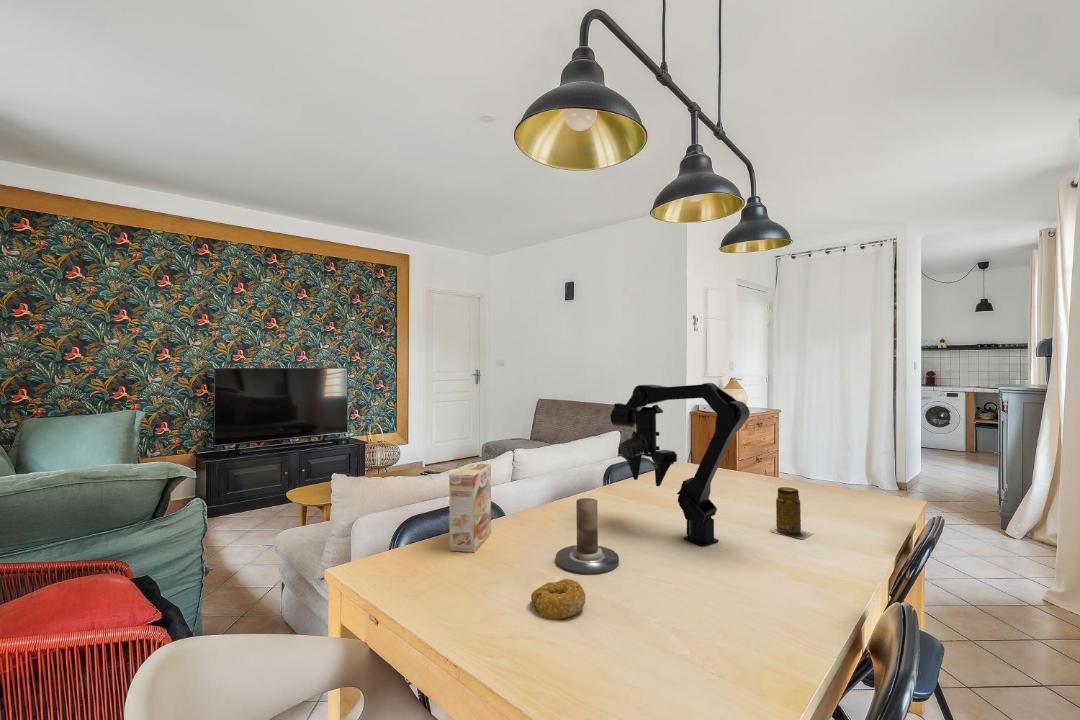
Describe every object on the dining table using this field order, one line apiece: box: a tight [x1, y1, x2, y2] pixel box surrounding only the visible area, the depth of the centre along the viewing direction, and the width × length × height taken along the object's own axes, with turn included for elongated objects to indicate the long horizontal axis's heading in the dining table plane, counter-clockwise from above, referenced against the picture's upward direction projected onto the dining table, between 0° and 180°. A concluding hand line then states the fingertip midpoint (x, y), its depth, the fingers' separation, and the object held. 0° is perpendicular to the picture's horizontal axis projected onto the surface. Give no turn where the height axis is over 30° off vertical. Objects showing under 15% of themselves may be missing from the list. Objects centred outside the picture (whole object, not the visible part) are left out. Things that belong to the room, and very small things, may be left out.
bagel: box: [530, 578, 586, 620], centre depth 95 cm, size 10×11×5 cm
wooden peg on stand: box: [573, 497, 602, 561], centre depth 117 cm, size 7×7×13 cm
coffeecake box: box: [448, 463, 492, 553], centre depth 131 cm, size 15×7×20 cm, turn 168°
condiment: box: [770, 486, 814, 540], centre depth 135 cm, size 7×8×12 cm
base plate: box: [555, 544, 620, 575], centre depth 117 cm, size 15×15×1 cm
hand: (646, 482), depth 140 cm, fingers open, 9 cm apart
